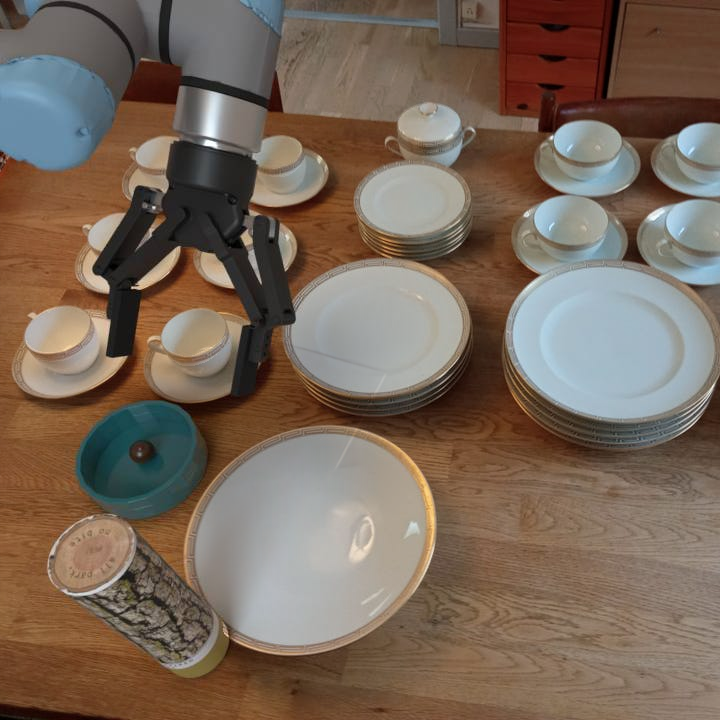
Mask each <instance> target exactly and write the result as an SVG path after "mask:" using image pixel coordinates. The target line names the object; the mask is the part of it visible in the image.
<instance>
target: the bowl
mask: <svg viewBox="0 0 720 720" xmlns="http://www.w3.org/2000/svg"><path fill="white" fill-rule="evenodd" d="M138 440H148V441H150V442H151V443H153V445H154V446H155V450H156V453H155V456H154V458H153V459H152V460H151V461H150V462H148V463H145V464H138V463H136V462H134V461H133V460H132V459H131V458H130V456H129V449H130V447H131V445H132V444H133V443H134V442H136V441H138ZM79 445H80V446H79V448H78V450H77V453H76V455H75V469H74V472H75V473H74V474H75V476H76V479H77V481H78V483H79V486H80V488H81V489H82V490H83V491H84V492H85V493H86V494H87V495H88V496H89V497H90V498H91V499H92V500H93V501H94V502H95V503H97V505H98V506H100V508H101V509H103V510H104V511H105V512H107V514H112V515H116V516H119V517H121V518H122V519H124V520H144V519H149V518H153V517H156V516H159V515H162V514H164V513H167V512H168V511H171V510H172V509H174V508H175V507H177V506H178V505H180V504H182V503H183V502H184V501H185V500H186V499H187V498H188V497H189V496H190V495H192V493H193V492H194V491H195V490H196V488H197V487H198V485H199V484H200V482H201V480H202V479H203V477H204V475H205V472H206V469H207V465H208V459H209V452H208V451H209V450H208V446H207V442H206V440H205V437H204V436H203V435H202V433H201V431H200V429H199V427H198V426H197V424H196V423H195V421H194V419H193V418H192V416H191V415H190V413H188V412H187V411H185V409H183V408H182V407H181V406H180V405H178V404H174V403H171V402H168V401H165V400H141V401H137V402H133V403H129V404H126V405H123V406H121V407H119V408H118V409H117V408H116V409H115V410H113V411H112V412H110V413H108V414H107V415H105V416H104V417H103V418H102V419H101V420H99V421H98V422H97V423H95V424H94V425H93V426H92V428H91V429H90V430H89V431H88V433H87V434H86V435H85V437H84V438H83V439H82V440H81V443H80V444H79Z"/></svg>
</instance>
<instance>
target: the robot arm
mask: <svg viewBox="0 0 720 720" xmlns="http://www.w3.org/2000/svg"><path fill="white" fill-rule="evenodd" d="M286 1H287V0H23V3H24V8H25V12H26V14H27V16H28V18H29V21H28V22H27V23H26V24H25V26H24V27H23V28H21V29H20V28H18V29H11V28H0V151H1V152H3V153H4V154H5V155H7V156H8V157H10V158H12V159H13V160H15V161H17V162H25V163H27V164H30V165H33V166H34V167H35V168H36V169H38V170H43V171H50V172H61V171H67V170H72V169H75V168H77V167H79V166H81V165H83V164H85V163H86V162H87V161H89V159H90V158H91V157H92V156H93V155H94V153H95V152H96V150H97V149H98V147H99V146H100V144H101V142H102V141H103V140H104V138H105V136H107V134H108V133H109V132H110V130H111V129H112V127H113V125H114V120H115V118H116V113H117V111H118V108H119V106H120V104H121V101H122V98H123V97H124V94H125V93H126V90H127V88H128V85H130V83H131V80H132V78H133V77H134V75H135V73H136V71H137V70H138V69H137V68H138V67H139V64H140V62H141V60H142V59H145V60H150V61H154V62H158V63H160V64H161V63H162V64H164V65H169V66H172V67H173V66H176V67H180V68H181V77H180V80H179V87H178V92H177V98H176V105H175V110H174V115H173V122H172V127H171V129H172V131H173V133H174V134H177V135H178V140H176V139H175V140H173V141H172V143H169V151H168V157H167V163H166V170H165V177H166V180H167V182H168V186H167V190H166V191H165V193H164V192H163V191H162V190H161V188H158V187H152V186H147V185H142V184H141V185H140V184H138V185H136V186H135V187H134V190H133V193H132V197H131V202H130V204H129V208H128V209H127V211H126V213H125V214H124V216H123V218H122V219H121V220H120V221H119V224H118V225H117V227H116V228H115V230H114V231H113V233H112V235H111V236H110V238H109V240H108V241H107V243H106V244H105V246H104V247H103V249H102V251H101V252H100V254H99V255H98V257H97V258H96V260H95V261H94V263H93V264H92V267H91V271H92V273H93V275H94V276H96V277H101V278H102V279H103V280H105V281H106V282H107V285H108V287H109V290H108V297H107V304H106V309H105V310H106V311H105V316H106V319H107V320H110V321H109V322H110V323H109V328H108V337H107V342H106V349H105V357H106V358H110V359H116V358H123V357H129V356H133V353H134V347H135V340H136V334H137V327H138V320H139V314H140V307H141V300H142V295H143V294H142V293H143V290H141V289H138V288H135V287H140V284H139V282H140V281H141V280H142V279H143V278H145V276H147V275H148V274H149V273H150V272H151V271H152V270H153V269H154V268H155V267H157V265H159V264H160V263H162V261H163V260H164V259H165V258H166V257H168V256H169V255H170V254H171V253H172V252H173V251H174V250H175V249H176V248H179V247H183V248H189V249H190V248H191V249H196V250H198V251H199V252H202V253H206V254H214V255H215V257H216V259H217V260H218V261H219V262H221V263H222V266H223V267H224V269H225V272H226V273H227V275H228V277H229V280H230V282H231V284H232V286H233V288H234V290H235V292H236V294H237V297H238V298H239V301H240V302H241V305H242V307H243V308H244V311H245V314H246V315H247V317H248V319H249V322H250V323H249V324H245V325H243V324H242V326H241V331H240V337H239V343H238V346H237V347H238V348H237V353H236V359H235V365H234V370H233V376H232V381H231V387H230V392H229V395H230V396H232V397H235V398H239V397H243V396H246V395H250V394H254V392H255V388H256V387H255V386H256V382H257V377H258V371H259V366H260V365H259V364H260V363H265V362H266V361H267V360H268V358H269V354H270V349H271V344H272V339H273V333H274V331H275V329H276V328H277V327H282V326H283V327H284V326H291V325H294V324H295V323H296V320H297V315H296V311H295V307H294V303H293V298H292V293H291V289H290V286H289V282H288V277H287V273H286V269H285V265H284V261H283V256H282V252H281V248H280V244H279V241H280V239H279V238H280V226H281V221H280V219H278V217H275V216H271V215H265V214H257V215H251V214H250V208H249V205H250V202H251V200H252V198H253V196H254V193H255V186H256V180H257V175H258V169H259V164H258V163H257V161H258V160H256V159H253V155H254V154H258V153H260V152H261V150H262V146H263V145H262V144H263V139H264V134H265V128H266V122H267V117H268V111H269V110H268V109H269V104H270V99H271V94H272V89H273V83H274V79H275V73H276V67H277V62H278V56H279V52H280V47H281V43H282V42H281V41H282V36H283V35H282V33H283V32H282V31H283V23H284V16H285V8H286ZM161 212H163V214H164V217H165V219H164V220H163V221H162V222H161V223H160V224H159V225H158V226H157V227H156V228H154V230H152V232H151V236H150V237H148V239H147V240H145V242H143V243H142V241H143V240H144V238H145V236H146V235H147V233H148V232H149V230H150V229H151V227H152V226H153V224H154V223H155V221H156V219H157V218H158V215H159V214H160V213H161ZM245 232H247V234H248V236H249V237H250V238H251V239H252V248H253V253H254V258H255V261H256V266H257V270H258V274H259V277H258V275H257V273H256V271H255V269H254V268H253V267H254V266H253V265H252V263H251V261H250V258H249V257H250V256H249V255H250V253H249V251H248V248H247V247H246V245H245V242H244V240H243V238H242V236H243V234H245ZM141 243H142V244H141ZM140 244H141V245H140ZM259 278H260V280H259ZM132 287H134V288H132Z"/></svg>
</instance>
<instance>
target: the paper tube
mask: <svg viewBox="0 0 720 720" xmlns="http://www.w3.org/2000/svg"><path fill="white" fill-rule="evenodd" d="M46 566H47V574H48V578H49V580H50V582H51V583H52V584H53V585H54V587H55V588H57V590H59V591H60V592H61V593H63V594H64V595H66V596H67V597H68V598H70V599H71V600H72V601H74V602H76V603H77V604H78V605H79V606H81V607H82V608H83V609H85V610H86V611H88V612H89V613H90V614H92V615H93V616H94V617H96V618H97V619H99V620H100V621H101V622H103V623H104V624H105V625H107V626H108V627H110V628H111V629H112V630H113V631H114V632H117V634H119V635H120V636H122V637H123V638H125V640H127V641H128V642H130V643H132V644H133V645H134V646H136V647H137V648H138V649H139V650H141V651H142V652H144V653H145V654H146V655H148V656H149V657H151V658H152V659H153V660H155V661H156V662H157V663H158V664H160V665H161V666H163V667H165V668H166V669H168V670H169V671H171V672H172V673H173V674H174V675H176V676H178V677H181V678H184V679H195V678H199V677H203V676H204V675H207V674H209V673H210V672H212V671H213V670H214V669H215V668H217V667H218V665H219V664H220V663H221V662H222V661H223V660H224V658H225V656H226V654H227V651H228V648H229V644H230V637H229V638H228V637H227V636H226V635H225V634H224V632H223V628H224V627H223V623H222V620H223V619H222V617H220V616H219V614H217V612H215V610H213V608H212V607H211V606H210V605H209V604H208V603H207V601H205V600H204V599H203V598H202V597H201V596H200V594H198V593H197V592H196V591H195V589H194V588H192V586H190V585H189V584H188V583H187V581H186V580H185V579H184V578H183V577H182V576H181V575H180V574H178V572H177V571H176V570H175V569H174V568H173V567H172V566H171V565H170V564H169V563H168V562H167V561H166V560H165V558H164V557H162V556H161V555H160V554H159V553H158V552H157V551H156V549H154V547H153V546H151V545H150V544H149V542H148V541H147V540H145V538H144V537H143V536H142V535H141V534H140V533H139V532H138V531H137V530H136V529H135V528H134V527H133V526H132V525H131V524H130V523H129V522H128V521H126V519H125V518H121V517H119V516H116V515H112V514H110V513H99V514H93V515H90V516H87V517H85V518H82V519H80V520H79V521H76V522H75V523H73V524H72V525H71V526H70V527H68V528H67V529H66V530H65V531H64V532H63V533H62V534H61V535H60V536H59V538H57V540H56V541H55V543H54V544H53V546H52V548H51V550H50V553H49V555H48V559H47V565H46ZM221 619H222V620H221Z"/></svg>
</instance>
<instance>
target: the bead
mask: <svg viewBox="0 0 720 720" xmlns="http://www.w3.org/2000/svg"><path fill="white" fill-rule="evenodd" d="M155 453H156V450H155V446H154V445H153V443H151V442H150V441H148V440H138V441H136V442H134V443H133V444H132V445H131V447H130V449H129V456H130V458H131V459H132V460H133V461H134V462H136V463H138V464H145V463H148V462H150V461H151V460H152V459H153V458H154V456H155Z"/></svg>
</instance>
